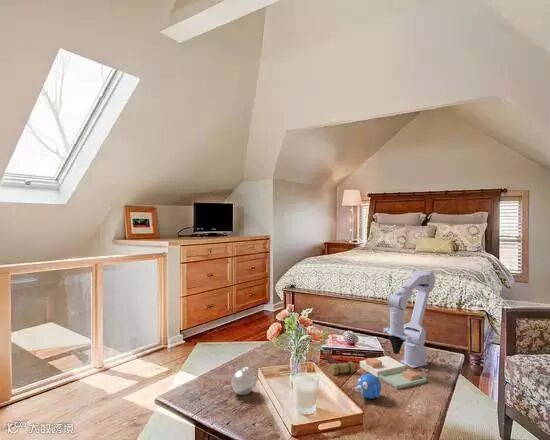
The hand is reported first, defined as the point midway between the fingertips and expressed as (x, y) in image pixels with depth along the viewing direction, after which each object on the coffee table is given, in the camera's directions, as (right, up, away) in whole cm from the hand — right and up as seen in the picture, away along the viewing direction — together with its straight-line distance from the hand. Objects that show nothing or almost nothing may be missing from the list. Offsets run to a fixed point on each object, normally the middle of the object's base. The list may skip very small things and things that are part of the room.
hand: (396, 353), depth 156 cm
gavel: (-26, -9, +7) cm, 29 cm away
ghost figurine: (-65, -8, -21) cm, 69 cm away
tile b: (-10, -6, +2) cm, 11 cm away
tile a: (+4, -6, -6) cm, 9 cm away
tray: (0, -8, -7) cm, 11 cm away
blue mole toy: (-19, -9, -23) cm, 31 cm away
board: (-5, -8, +4) cm, 10 cm away
